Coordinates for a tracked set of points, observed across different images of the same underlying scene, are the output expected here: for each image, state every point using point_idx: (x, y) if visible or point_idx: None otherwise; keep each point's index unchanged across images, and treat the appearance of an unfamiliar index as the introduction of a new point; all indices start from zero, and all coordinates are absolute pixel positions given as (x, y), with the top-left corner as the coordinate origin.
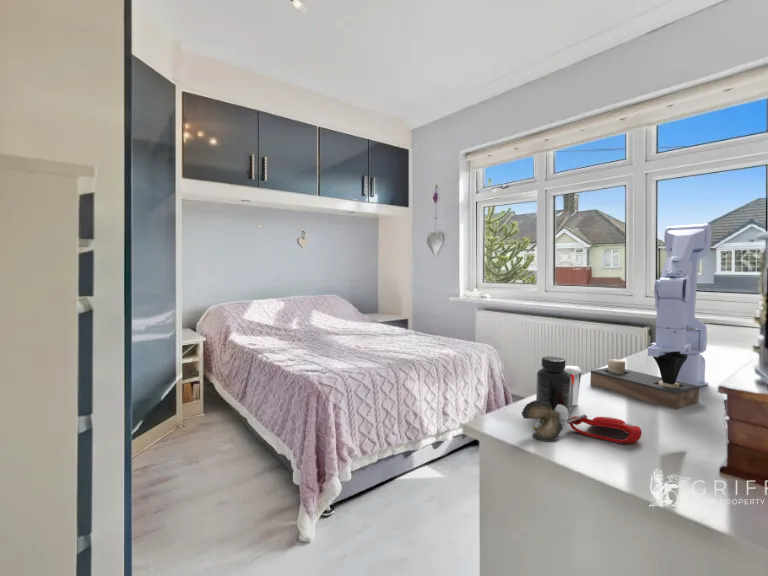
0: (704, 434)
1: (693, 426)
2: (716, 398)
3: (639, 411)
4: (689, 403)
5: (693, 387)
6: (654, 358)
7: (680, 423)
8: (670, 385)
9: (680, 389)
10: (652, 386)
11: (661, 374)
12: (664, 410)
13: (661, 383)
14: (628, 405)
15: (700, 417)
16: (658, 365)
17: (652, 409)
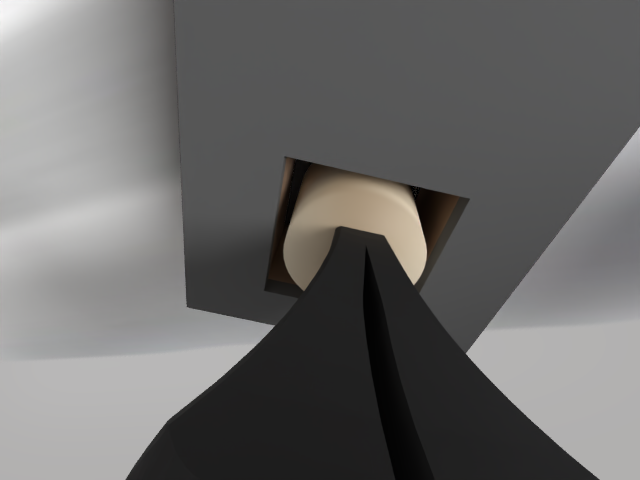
0: (58, 335)
1: (90, 311)
2: (590, 323)
3: (9, 135)
4: None
5: None
6: (192, 403)
7: (71, 283)
8: (293, 275)
9: (274, 315)
10: (183, 183)
11: (324, 264)
12: (160, 213)
13: (292, 225)
14: (25, 45)
15: (213, 313)
16: (273, 328)
17: (113, 171)
